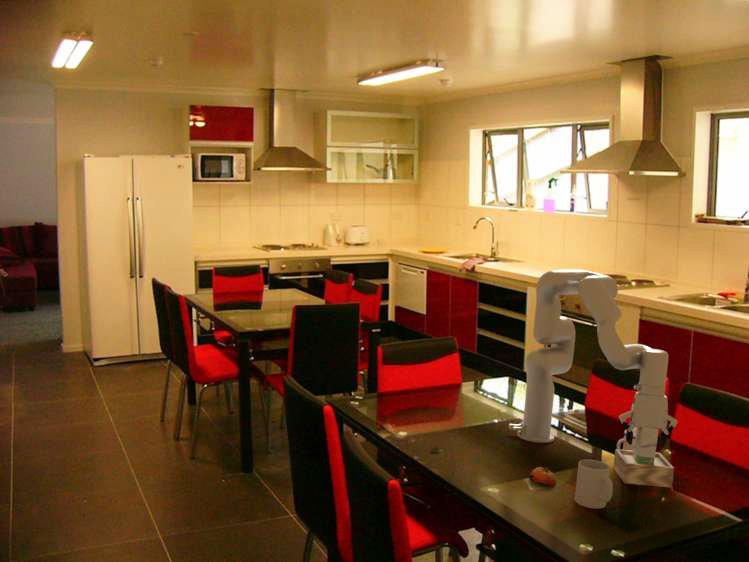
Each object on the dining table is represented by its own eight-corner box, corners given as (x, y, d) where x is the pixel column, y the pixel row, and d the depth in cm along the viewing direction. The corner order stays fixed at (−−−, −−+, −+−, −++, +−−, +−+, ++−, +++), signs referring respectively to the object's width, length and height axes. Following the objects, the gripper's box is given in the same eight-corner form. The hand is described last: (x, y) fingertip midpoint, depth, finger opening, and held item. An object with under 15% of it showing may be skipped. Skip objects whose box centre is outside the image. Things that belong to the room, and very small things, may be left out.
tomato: (552, 486, 230) (539, 463, 233) (533, 497, 233) (520, 474, 236) (563, 483, 237) (550, 461, 239) (544, 494, 239) (532, 471, 242)
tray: (624, 483, 241) (626, 463, 240) (613, 467, 255) (615, 449, 254) (671, 487, 240) (674, 468, 240) (658, 471, 254) (660, 452, 253)
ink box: (632, 455, 252) (636, 419, 250) (649, 457, 251) (654, 420, 250) (637, 464, 243) (641, 426, 242) (655, 466, 243) (659, 428, 241)
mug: (568, 498, 225) (572, 460, 224) (592, 495, 229) (596, 458, 228) (596, 515, 215) (600, 475, 213) (621, 512, 218) (625, 473, 217)
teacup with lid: (639, 455, 269) (643, 421, 268) (656, 464, 261) (660, 429, 259) (607, 456, 266) (611, 421, 265) (623, 465, 257) (627, 430, 256)
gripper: (625, 390, 241) (619, 446, 243) (684, 395, 240) (678, 451, 242) (619, 384, 249) (613, 438, 251) (676, 389, 248) (670, 443, 250)
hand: (645, 444), depth 246 cm, fingers open, 9 cm apart
